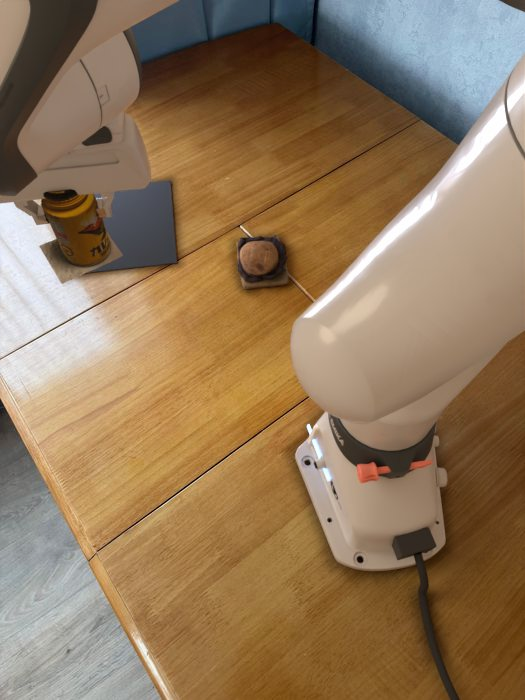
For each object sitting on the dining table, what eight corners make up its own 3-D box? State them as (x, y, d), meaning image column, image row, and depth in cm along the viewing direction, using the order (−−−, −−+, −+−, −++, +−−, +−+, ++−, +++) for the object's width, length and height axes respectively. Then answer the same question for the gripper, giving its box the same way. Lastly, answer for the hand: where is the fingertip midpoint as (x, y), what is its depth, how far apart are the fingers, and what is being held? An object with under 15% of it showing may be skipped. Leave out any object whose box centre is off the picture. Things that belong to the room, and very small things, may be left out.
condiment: (123, 256, 69) (100, 184, 58) (62, 285, 66) (26, 215, 56) (99, 221, 72) (73, 147, 61) (39, 247, 69) (2, 175, 59)
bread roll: (291, 286, 86) (292, 271, 82) (239, 290, 85) (239, 276, 82) (282, 237, 91) (283, 221, 88) (233, 241, 90) (233, 225, 87)
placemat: (177, 263, 88) (176, 262, 88) (67, 275, 87) (66, 274, 86) (170, 180, 98) (170, 180, 98) (72, 190, 97) (71, 189, 97)
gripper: (-84, 147, 49) (-17, 246, 61) (137, 126, 51) (160, 227, 63) (-73, 105, 53) (-11, 207, 64) (135, 86, 54) (157, 190, 66)
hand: (75, 217), depth 64 cm, fingers closed on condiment, 6 cm apart
